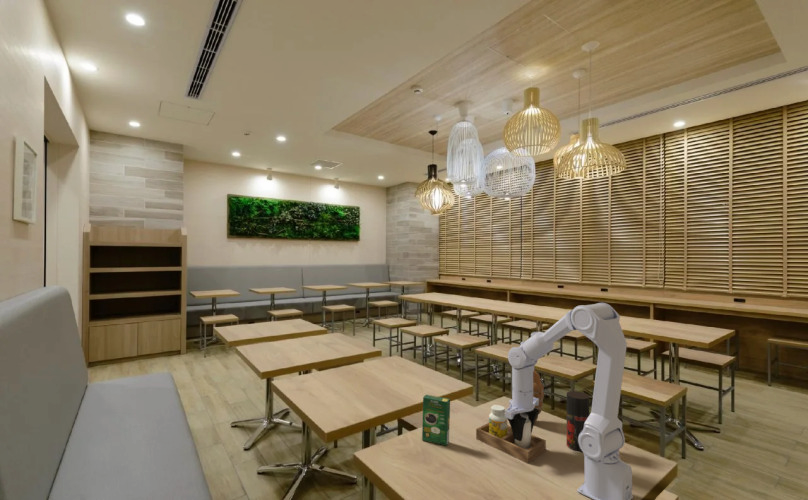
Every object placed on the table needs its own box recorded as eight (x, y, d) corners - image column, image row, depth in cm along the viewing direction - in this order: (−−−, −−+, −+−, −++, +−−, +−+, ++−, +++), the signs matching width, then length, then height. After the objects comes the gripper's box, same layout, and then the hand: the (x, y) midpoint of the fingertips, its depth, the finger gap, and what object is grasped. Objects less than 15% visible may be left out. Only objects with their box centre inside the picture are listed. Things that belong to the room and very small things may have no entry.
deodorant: (591, 453, 105) (591, 399, 105) (569, 450, 106) (569, 398, 106) (585, 442, 110) (585, 392, 111) (564, 440, 112) (564, 390, 112)
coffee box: (450, 442, 111) (450, 397, 111) (447, 446, 108) (448, 401, 108) (425, 436, 114) (425, 393, 114) (421, 441, 111) (421, 397, 111)
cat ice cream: (544, 430, 118) (544, 373, 118) (518, 426, 121) (518, 370, 121) (543, 418, 127) (543, 365, 127) (519, 415, 129) (519, 363, 129)
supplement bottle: (511, 441, 111) (511, 409, 111) (497, 445, 109) (497, 412, 109) (498, 433, 116) (498, 402, 116) (485, 437, 113) (485, 406, 113)
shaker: (534, 446, 106) (534, 416, 106) (524, 451, 103) (524, 420, 103) (520, 440, 109) (520, 411, 109) (511, 444, 106) (511, 415, 106)
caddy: (545, 450, 106) (545, 440, 106) (527, 463, 100) (528, 452, 100) (494, 429, 119) (494, 419, 119) (476, 438, 112) (476, 429, 112)
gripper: (523, 379, 114) (523, 424, 114) (495, 391, 104) (495, 439, 104) (545, 385, 109) (545, 432, 109) (518, 398, 99) (518, 449, 99)
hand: (522, 436), depth 106 cm, fingers closed on shaker, 4 cm apart
